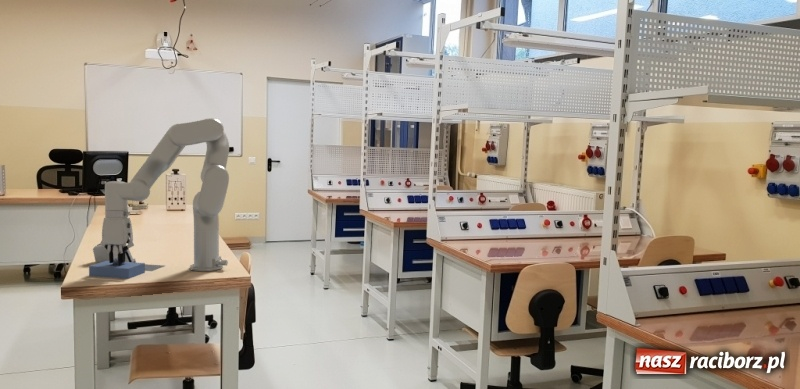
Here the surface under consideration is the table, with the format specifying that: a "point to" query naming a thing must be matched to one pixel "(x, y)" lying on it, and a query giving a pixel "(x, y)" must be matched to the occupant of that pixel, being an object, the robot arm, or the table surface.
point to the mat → (152, 267)
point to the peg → (116, 255)
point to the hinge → (103, 255)
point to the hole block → (117, 270)
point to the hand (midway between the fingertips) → (117, 262)
